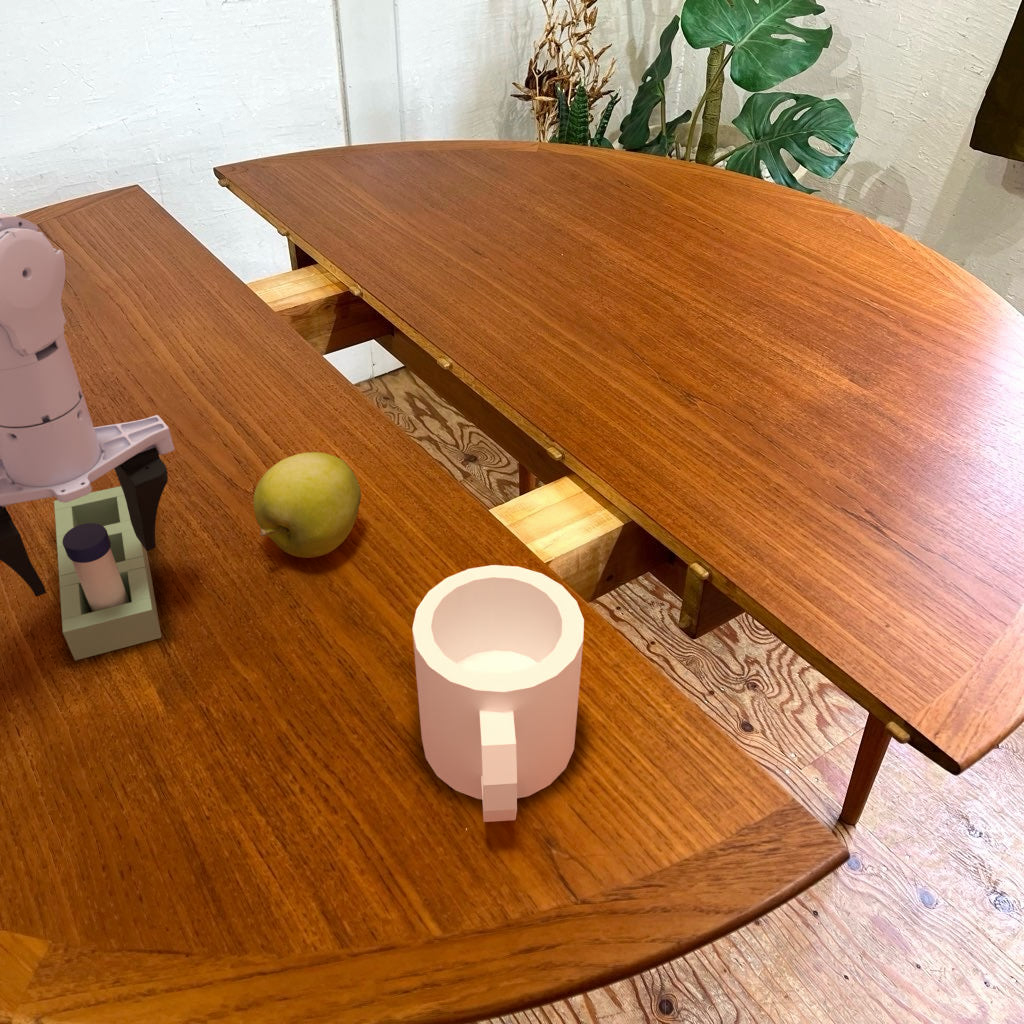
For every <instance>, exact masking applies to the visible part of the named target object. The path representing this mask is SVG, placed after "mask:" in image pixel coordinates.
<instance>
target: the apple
mask: <svg viewBox="0 0 1024 1024" xmlns="http://www.w3.org/2000/svg"><path fill="white" fill-rule="evenodd" d="M361 498H362V491H361V487H360V483H359V481H358V478H357V477H356V474H355V472H354V471H353V470H352V468H351V467H350V466H349V465H348V463H347V462H346V461H345V460H343V459H342V458H340V457H337V456H335V455H333V454H330V453H326V452H321V451H320V452H319V451H309V452H301V453H297V454H294V455H290V456H288V457H286V458H283V459H281V460H280V461H278V462H277V463H275V464H274V465H272V466H271V467H270V468H269V469H267V470H266V472H264V473H263V475H262V476H261V478H260V479H259V481H258V483H257V485H256V486H255V489H254V493H253V500H252V501H253V511H254V516H255V519H256V522H257V524H258V526H259V527H260V530H259V534H260V536H261V537H266V536H267V537H268V538H270V540H272V541H273V543H274V544H275V545H276V546H277V547H278V548H280V549H281V550H282V551H283V552H285V553H287V554H288V555H291V556H294V557H297V558H303V559H305V558H306V559H311V558H317V557H321V556H325V555H327V554H330V553H331V552H333V551H335V550H336V549H337V548H339V547H340V546H341V545H342V543H344V541H345V540H346V539H347V538H348V536H349V535H350V533H351V531H352V530H353V527H354V525H355V522H356V521H357V516H358V514H359V509H360V504H361V500H362V499H361Z"/></svg>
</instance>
